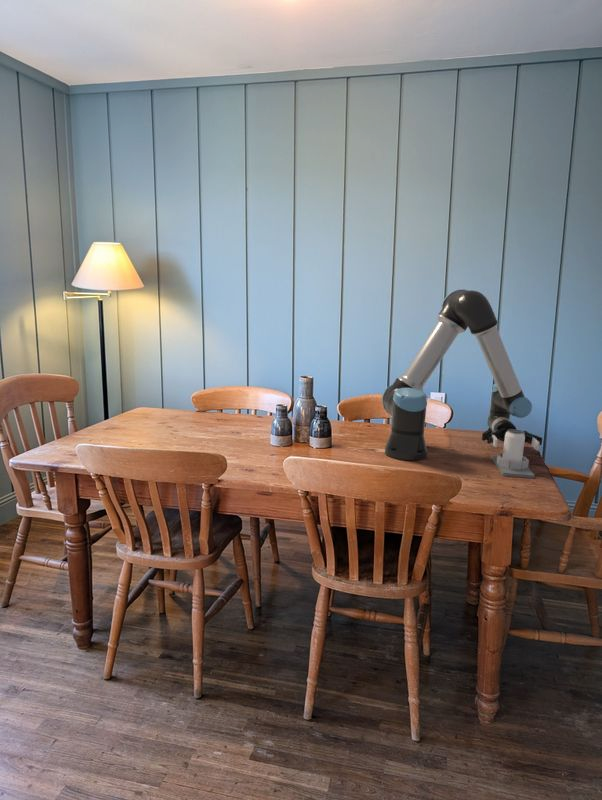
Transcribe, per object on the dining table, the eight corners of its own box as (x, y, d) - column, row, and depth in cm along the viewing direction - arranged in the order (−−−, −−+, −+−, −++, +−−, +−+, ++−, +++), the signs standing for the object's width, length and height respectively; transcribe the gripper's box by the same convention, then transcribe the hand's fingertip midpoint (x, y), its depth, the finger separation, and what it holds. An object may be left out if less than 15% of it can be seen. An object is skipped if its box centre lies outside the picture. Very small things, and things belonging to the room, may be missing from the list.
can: (508, 468, 199) (512, 433, 197) (497, 462, 205) (501, 428, 203) (525, 467, 201) (529, 433, 198) (514, 461, 207) (518, 428, 204)
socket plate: (502, 475, 194) (503, 465, 193) (491, 457, 214) (492, 448, 213) (534, 478, 193) (535, 468, 192) (520, 460, 212) (521, 450, 212)
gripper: (537, 441, 218) (554, 458, 198) (468, 436, 221) (477, 452, 200) (540, 422, 217) (557, 437, 196) (470, 417, 220) (480, 431, 199)
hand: (517, 445), depth 198 cm, fingers open, 13 cm apart
